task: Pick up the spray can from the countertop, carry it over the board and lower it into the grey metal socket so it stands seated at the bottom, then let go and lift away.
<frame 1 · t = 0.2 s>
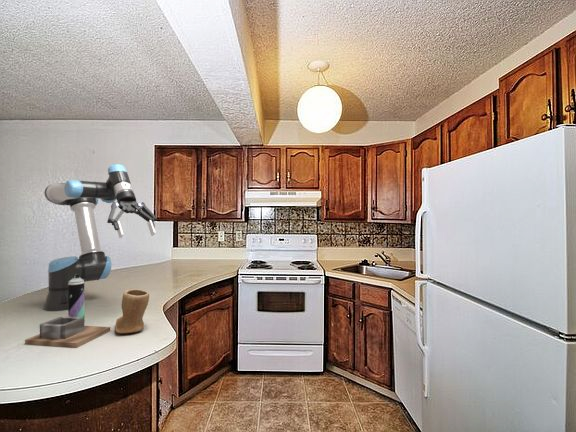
hand: (138, 235, 140), 35 cm above the counter, tool tilted 35°, fingers open, 13 cm apart
tan boot-shaped piece: (132, 329, 128), on the counter
socket board: (69, 337, 119), on the counter
spray can: (76, 324, 133), on the counter
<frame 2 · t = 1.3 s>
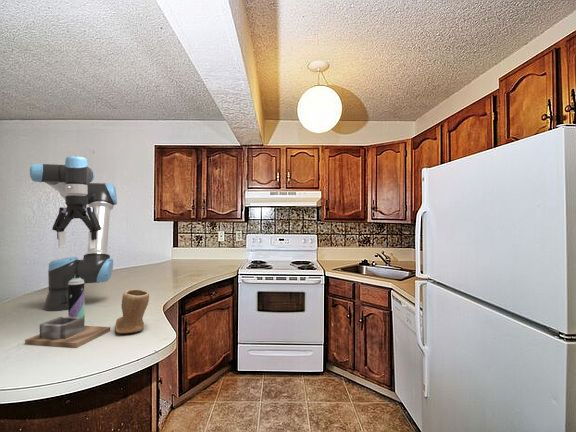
hand: (76, 248, 133), 31 cm above the counter, tool pointing down, fingers open, 13 cm apart
nothing on the counter moved.
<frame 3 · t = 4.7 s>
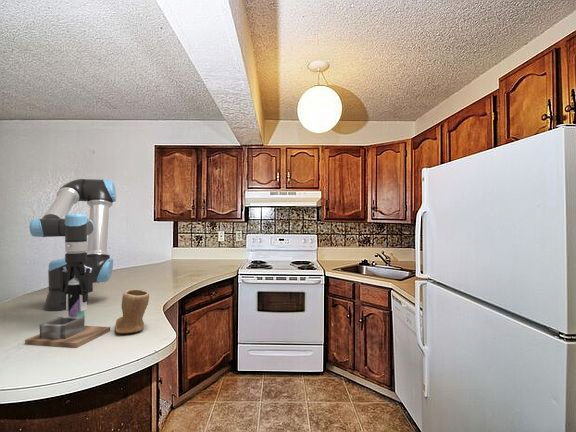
hand: (76, 309, 133), 6 cm above the counter, tool pointing down, fingers closed on spray can, 5 cm apart
spray can: (76, 324, 133), on the counter, touching gripper
everything else where it was.
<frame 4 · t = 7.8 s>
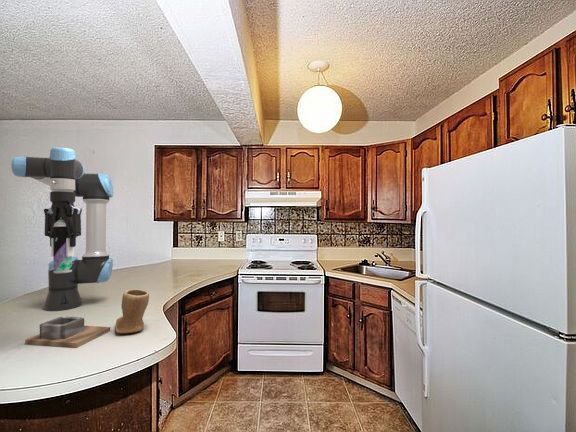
hand: (62, 255, 119), 29 cm above the counter, tool pointing down, fingers closed on spray can, 5 cm apart
spray can: (62, 272, 119), point 23 cm above the counter, touching gripper
everything else where it was.
when the fingers open (8 cm above the counter, at t = 11.3 s): spray can stays where it is, resting on socket board.
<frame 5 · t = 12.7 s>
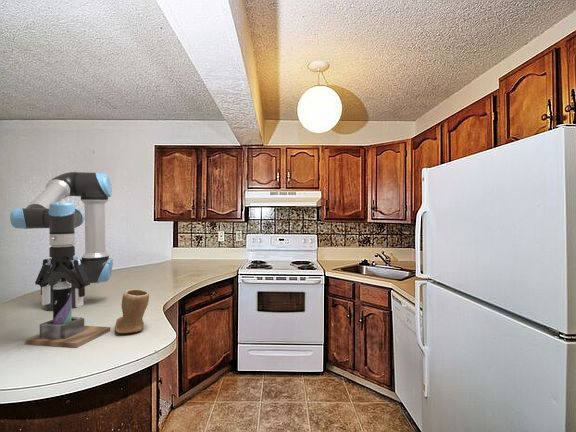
hand: (62, 305, 118), 12 cm above the counter, tool pointing down, fingers open, 13 cm apart
spray can: (62, 334, 118), point 1 cm above the counter, touching socket board
everything else where it was.
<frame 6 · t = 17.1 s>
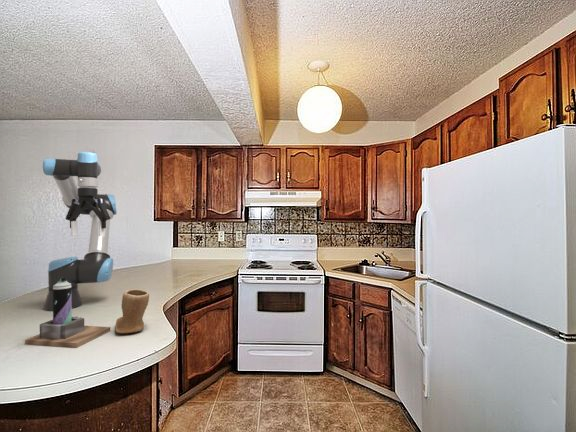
hand: (87, 236, 146), 35 cm above the counter, tool pointing down, fingers open, 13 cm apart
nothing on the counter moved.
at the end: spray can 0.0 cm from the target spot, point 1.3 cm above the counter; spray can tilted 0°; the gripper is holding nothing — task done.
